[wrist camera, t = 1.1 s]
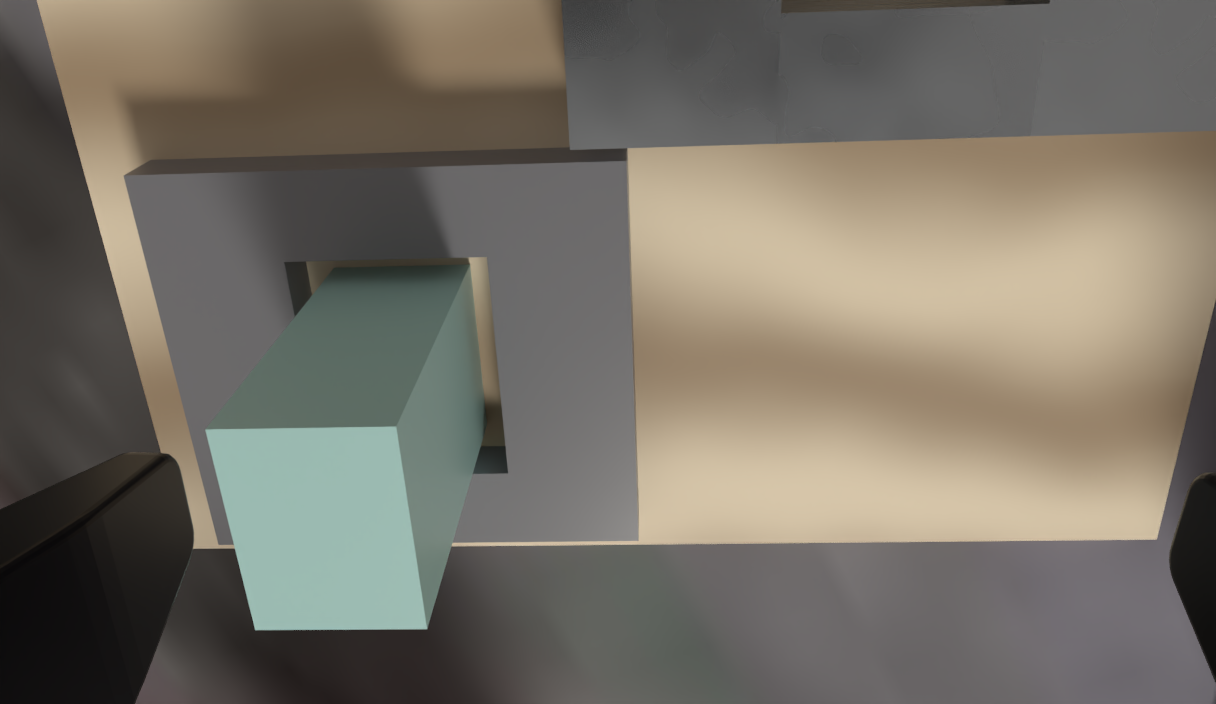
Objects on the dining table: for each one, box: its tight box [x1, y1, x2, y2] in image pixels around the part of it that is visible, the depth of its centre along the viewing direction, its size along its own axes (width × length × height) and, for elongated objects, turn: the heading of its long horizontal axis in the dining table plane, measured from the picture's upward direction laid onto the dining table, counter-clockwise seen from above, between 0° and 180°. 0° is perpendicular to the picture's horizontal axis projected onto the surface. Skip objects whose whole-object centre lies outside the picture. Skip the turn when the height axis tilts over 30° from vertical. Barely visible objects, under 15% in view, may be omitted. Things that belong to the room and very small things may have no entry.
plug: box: [205, 264, 487, 630], centre depth 19 cm, size 4×3×7 cm
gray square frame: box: [124, 147, 639, 545], centre depth 22 cm, size 9×10×1 cm
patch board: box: [37, 0, 1216, 549], centre depth 20 cm, size 22×24×1 cm
